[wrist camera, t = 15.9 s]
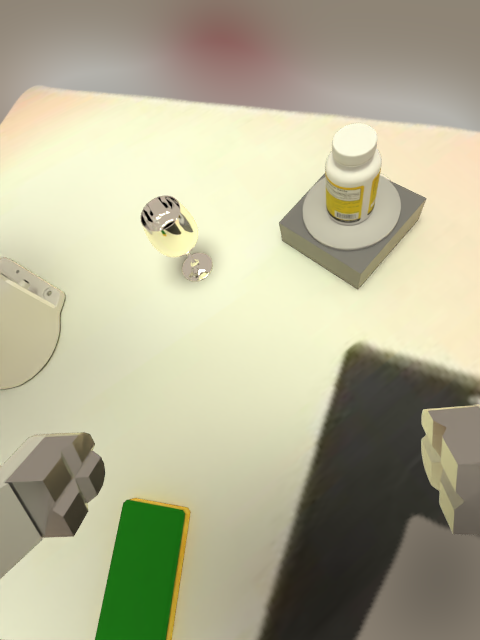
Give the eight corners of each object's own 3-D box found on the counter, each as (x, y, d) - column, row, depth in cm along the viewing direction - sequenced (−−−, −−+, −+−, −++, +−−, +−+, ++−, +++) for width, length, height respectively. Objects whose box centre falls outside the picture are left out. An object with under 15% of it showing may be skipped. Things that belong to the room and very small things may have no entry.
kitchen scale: (282, 240, 47) (278, 218, 43) (341, 176, 49) (343, 148, 44) (357, 289, 43) (361, 270, 38) (420, 216, 44) (431, 190, 40)
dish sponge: (192, 507, 39) (184, 510, 36) (168, 666, 34) (157, 681, 32) (134, 497, 40) (123, 499, 38) (104, 647, 36) (90, 659, 34)
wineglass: (202, 241, 50) (168, 182, 39) (225, 267, 48) (195, 212, 37) (170, 266, 50) (126, 213, 39) (191, 293, 48) (151, 246, 37)
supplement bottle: (357, 180, 42) (365, 108, 33) (383, 212, 40) (399, 142, 31) (317, 202, 43) (314, 135, 34) (340, 234, 40) (344, 172, 31)
